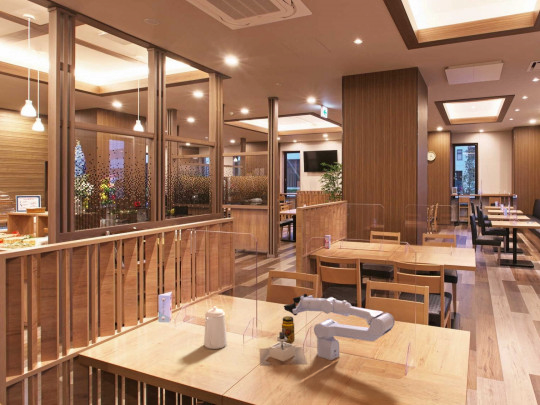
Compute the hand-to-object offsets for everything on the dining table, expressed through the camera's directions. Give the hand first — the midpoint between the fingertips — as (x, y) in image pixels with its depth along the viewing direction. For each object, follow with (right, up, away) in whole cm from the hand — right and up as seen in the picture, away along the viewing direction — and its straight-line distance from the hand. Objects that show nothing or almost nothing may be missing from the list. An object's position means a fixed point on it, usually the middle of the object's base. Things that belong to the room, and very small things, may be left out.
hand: (289, 303), depth 196 cm
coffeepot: (-35, -21, +2) cm, 41 cm away
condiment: (0, -20, +6) cm, 21 cm away
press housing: (-4, -20, -13) cm, 24 cm away
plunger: (-4, -16, -13) cm, 21 cm away
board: (-4, -21, -13) cm, 25 cm away
